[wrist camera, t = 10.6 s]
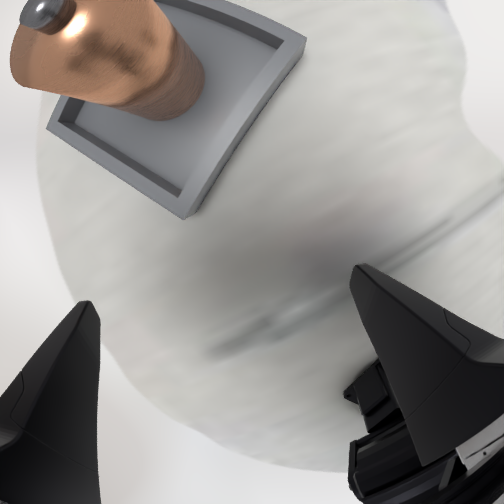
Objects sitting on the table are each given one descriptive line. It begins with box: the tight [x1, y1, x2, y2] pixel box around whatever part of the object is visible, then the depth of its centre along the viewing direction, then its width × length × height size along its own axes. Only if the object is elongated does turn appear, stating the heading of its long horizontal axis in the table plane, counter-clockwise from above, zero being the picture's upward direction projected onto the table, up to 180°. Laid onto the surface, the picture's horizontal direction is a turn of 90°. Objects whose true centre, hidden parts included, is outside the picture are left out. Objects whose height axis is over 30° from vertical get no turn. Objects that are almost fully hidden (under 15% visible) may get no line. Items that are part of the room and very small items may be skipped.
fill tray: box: [46, 0, 307, 220], centre depth 16 cm, size 14×14×3 cm
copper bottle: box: [10, 0, 205, 121], centre depth 10 cm, size 6×6×14 cm
